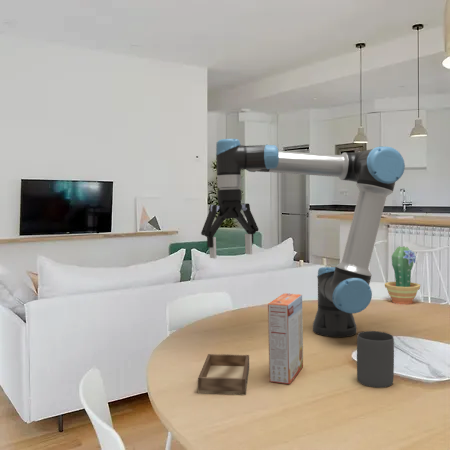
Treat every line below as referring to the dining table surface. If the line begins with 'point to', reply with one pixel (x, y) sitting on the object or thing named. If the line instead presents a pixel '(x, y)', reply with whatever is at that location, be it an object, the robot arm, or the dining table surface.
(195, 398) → the dining table surface
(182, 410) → the dining table surface
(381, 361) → the mug
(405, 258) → the potted cactus
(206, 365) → the tray
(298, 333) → the cracker box
